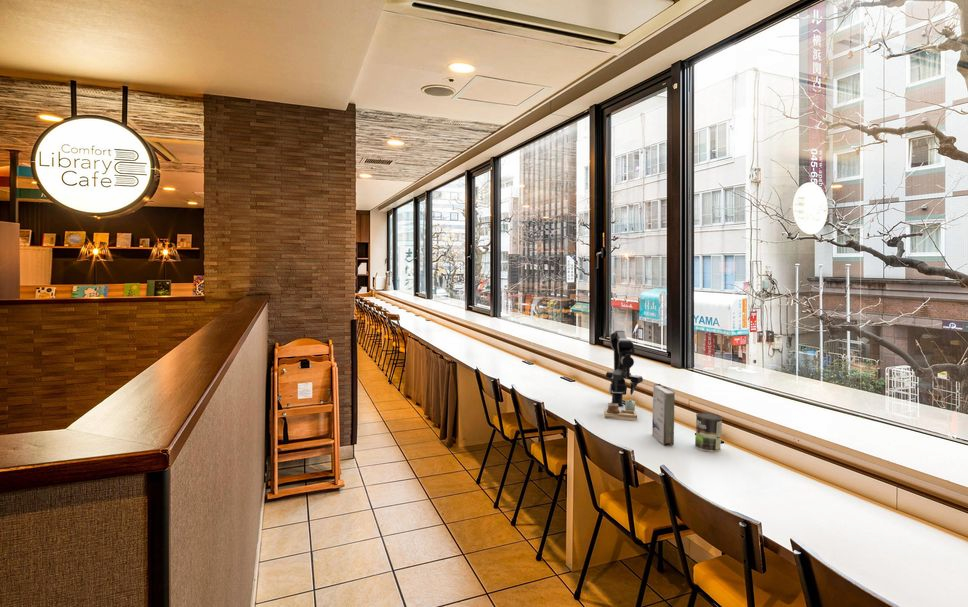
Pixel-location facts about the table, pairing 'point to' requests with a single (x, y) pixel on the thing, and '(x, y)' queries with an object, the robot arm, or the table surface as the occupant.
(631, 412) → the caddy base
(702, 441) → the coffee can
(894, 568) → the table surface
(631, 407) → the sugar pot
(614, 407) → the walnut block
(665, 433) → the book
